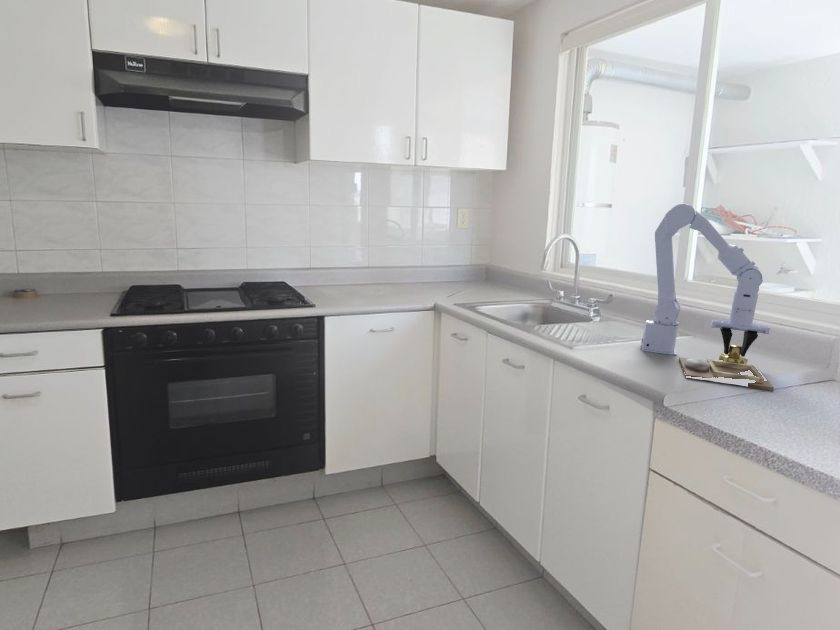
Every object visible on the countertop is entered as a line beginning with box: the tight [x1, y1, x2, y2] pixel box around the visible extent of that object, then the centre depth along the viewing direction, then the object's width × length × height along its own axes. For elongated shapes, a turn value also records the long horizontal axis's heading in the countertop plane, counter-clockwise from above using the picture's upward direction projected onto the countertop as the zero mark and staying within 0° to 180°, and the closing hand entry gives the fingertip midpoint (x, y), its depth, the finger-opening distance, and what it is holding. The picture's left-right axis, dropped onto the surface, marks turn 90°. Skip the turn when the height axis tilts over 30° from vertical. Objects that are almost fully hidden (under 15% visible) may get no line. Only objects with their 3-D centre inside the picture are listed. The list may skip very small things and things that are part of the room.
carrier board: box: [678, 356, 774, 392], centre depth 148 cm, size 20×16×2 cm
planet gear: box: [718, 343, 749, 364], centre depth 159 cm, size 7×7×5 cm
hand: (734, 354), depth 159 cm, fingers open, 4 cm apart
